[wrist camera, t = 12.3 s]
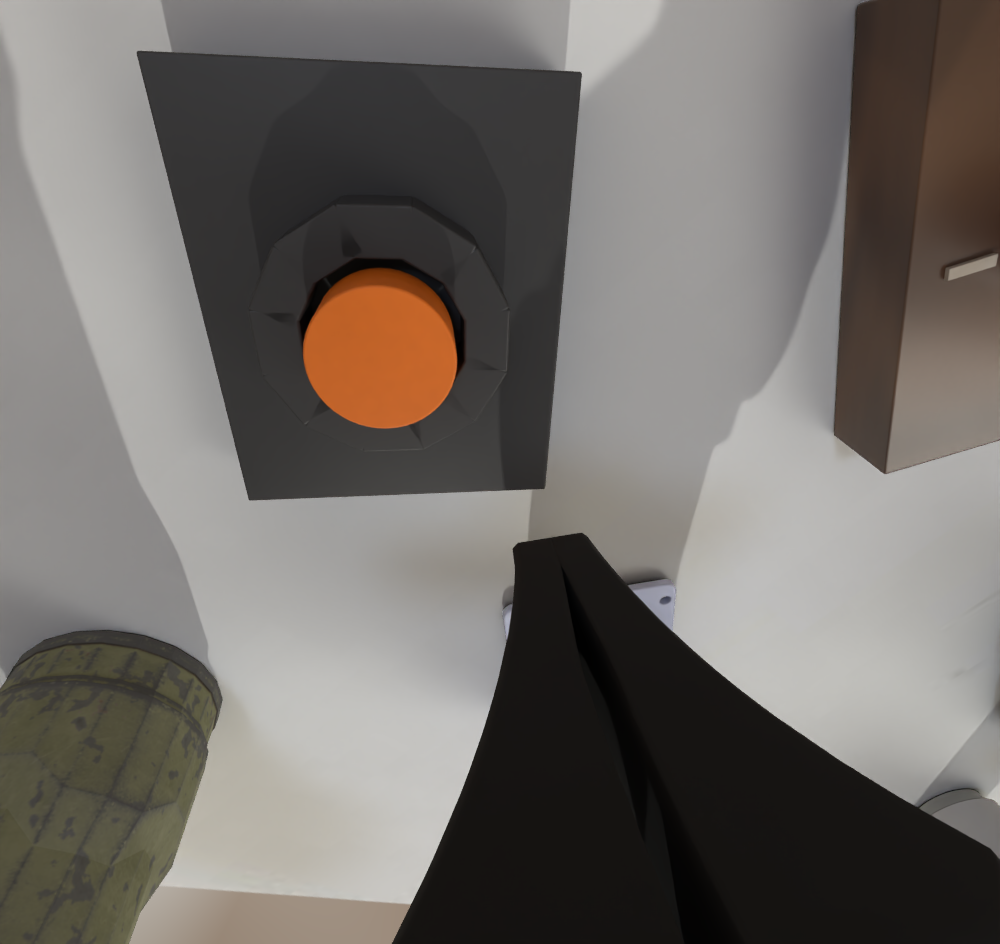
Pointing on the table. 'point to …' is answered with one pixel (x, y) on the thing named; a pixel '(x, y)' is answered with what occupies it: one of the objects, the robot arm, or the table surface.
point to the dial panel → (922, 234)
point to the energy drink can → (968, 815)
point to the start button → (381, 349)
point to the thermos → (96, 781)
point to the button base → (373, 251)
